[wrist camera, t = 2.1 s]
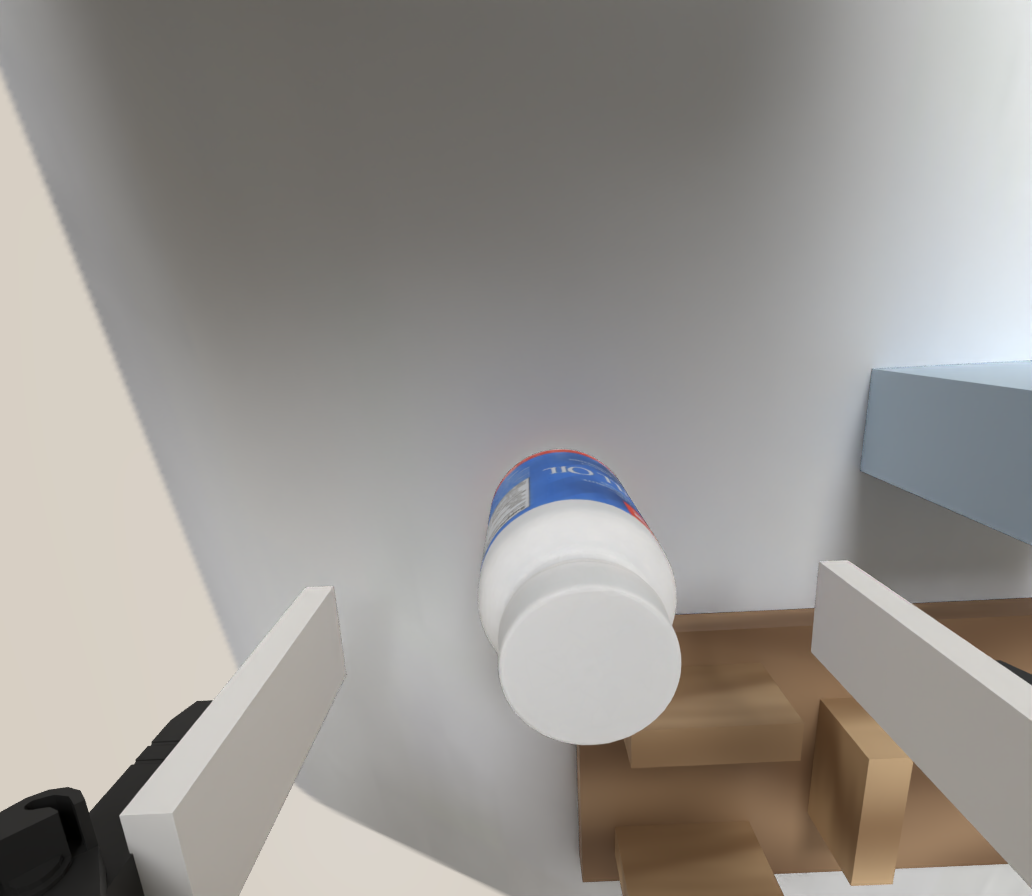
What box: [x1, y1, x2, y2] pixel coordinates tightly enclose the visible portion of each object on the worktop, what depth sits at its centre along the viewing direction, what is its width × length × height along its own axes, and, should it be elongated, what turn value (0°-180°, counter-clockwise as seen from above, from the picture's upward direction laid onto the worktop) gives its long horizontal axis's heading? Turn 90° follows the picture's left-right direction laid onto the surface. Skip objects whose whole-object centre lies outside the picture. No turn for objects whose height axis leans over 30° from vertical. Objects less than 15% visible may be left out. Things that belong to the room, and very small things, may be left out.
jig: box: [577, 598, 1032, 896], centre depth 21 cm, size 13×23×4 cm, turn 93°
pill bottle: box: [478, 449, 681, 745], centre depth 16 cm, size 6×5×10 cm
